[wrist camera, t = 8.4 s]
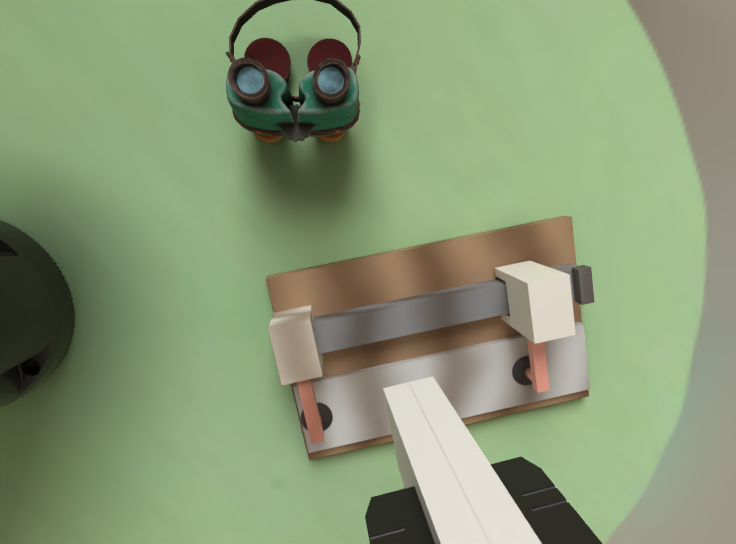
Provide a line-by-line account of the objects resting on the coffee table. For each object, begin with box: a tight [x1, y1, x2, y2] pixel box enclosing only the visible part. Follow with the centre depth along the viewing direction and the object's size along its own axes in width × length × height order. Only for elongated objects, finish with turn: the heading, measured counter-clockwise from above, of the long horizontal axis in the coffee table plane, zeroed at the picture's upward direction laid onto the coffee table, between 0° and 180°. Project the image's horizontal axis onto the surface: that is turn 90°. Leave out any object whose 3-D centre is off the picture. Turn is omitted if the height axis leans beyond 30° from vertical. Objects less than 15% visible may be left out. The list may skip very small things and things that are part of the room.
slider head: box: [494, 261, 576, 393], centre depth 35 cm, size 3×10×6 cm, turn 11°
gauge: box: [266, 216, 594, 460], centre depth 36 cm, size 25×16×5 cm, turn 101°
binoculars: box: [226, 0, 361, 143], centre depth 29 cm, size 9×11×10 cm
